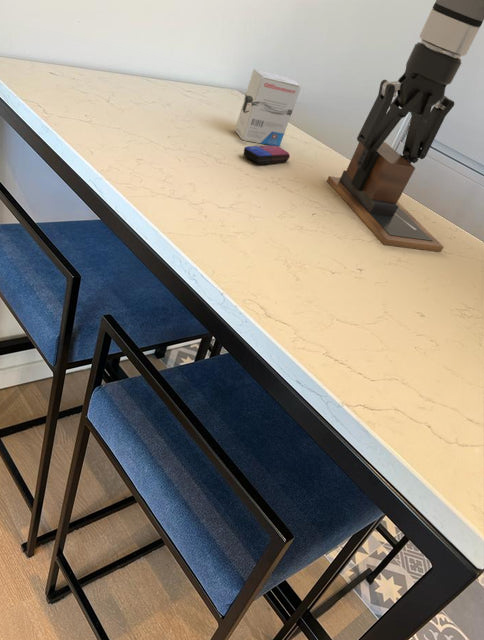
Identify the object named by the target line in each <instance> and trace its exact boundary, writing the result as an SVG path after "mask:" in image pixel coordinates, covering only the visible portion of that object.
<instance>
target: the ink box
mask: <svg viewBox="0 0 484 640" xmlns="http://www.w3.org/2000/svg"><path fill="white" fill-rule="evenodd" d="M301 88H302V86H300V84H299V83H297V82H296V81H295V80H294V79H292V78H290V77H287V76H283V75H279V74H275V73H273V72H272V73H271V72H267V71H265V70H260V69H256V68H254V69H252V73H251V77H250V78H249V83H248V85H247V89H246V92H245V96H244V98H243V102H242V105H241V108H240V112H239V115H238V119H237V121H236V125H235V126H234V127H235V128H234V131H235V133H236V134H237V135H238V137H239V138H240V139H241V140H242V141H244V142H251V143H257V144H260V145H261V144H262V145H266V146H268V145H269V146H271V145H275V146H278V147H280V146H281V145H282V141H283V138H284V136H285V133H286V131H287V127H288V124H289V122H290V120H291V116H292V114H293V110H294V109H295V105H296V104H297V100H298V97H299V94H300V91H301V90H302V89H301Z"/></svg>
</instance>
